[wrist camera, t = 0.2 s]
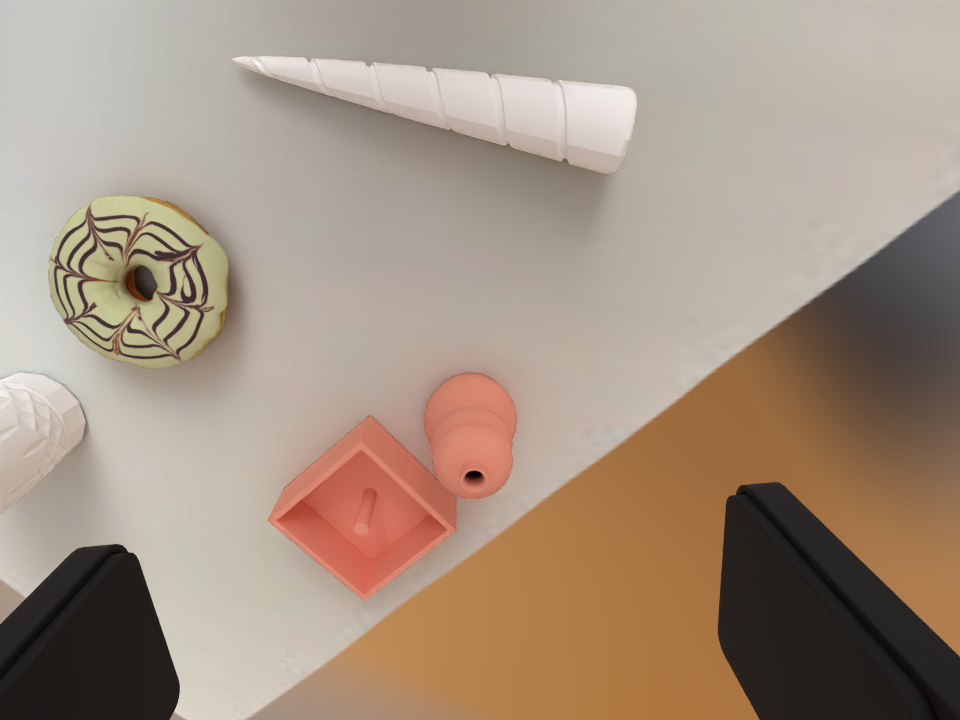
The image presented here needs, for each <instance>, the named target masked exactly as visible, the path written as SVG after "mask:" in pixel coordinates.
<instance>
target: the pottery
mask: <svg viewBox="0 0 960 720" xmlns="http://www.w3.org/2000/svg"><path fill="white" fill-rule="evenodd" d="M516 423H517V416H516V410H515V407H514V404H513V401H512V399H511V398H510V396H509V394H508V393H507V392H506V391H505V390H504V389H503V388H502V387H501V386H500V385H499V384H498V383H497V382H495V381H494V380H493V379H491V378H489V377H486V376H484V375H480V374H473V373H467V374H460V375H457V376H454V377H452V378H450V379H448V380H446V381H445V382H444V383H443V384H441V385H440V386H439V388H438V389H437V390H436V391H435V392H434V394H433V395H432V396H431V398H430V400H429V402H428V403H427V407H426V410H425V415H424V426H425V432H426V435H427V437H428V440H429V442H430V443H431V449H432V455H433V467H434V471H435V474H436V476H437V479H438V480H439V481H438V480H437V479H436V478H435V477H434V476H433V475H432V474H431V473H430V472H429V471H428V470H427V469H426V468H425V467H424V466H423V465H421V464H420V463H419V462H418V461H417V460H416V459H415V458H414V457H413V456H412V455H411V454H410V453H409V452H408V451H407V450H406V449H405V448H404V447H403V446H402V445H401V444H400V443H399V442H398V441H397V440H395V439H394V438H393V437H392V436H391V435H390V434H389V433H388V432H387V431H386V430H385V429H384V428H383V427H382V426H381V425H380V424H379V423H378V422H377V421H376V420H375V419H374V418H373V417H372V416H371V415H370V416H368V417H367V418H366V419H365V420H364V421H362V422H361V423H360V424H359V425H358V426H357V427H355V428H354V429H353V430H352V431H351V432H350V433H348V434H347V435H346V436H345V437H344V438H343V439H341V440H340V441H339V442H338V443H337V444H335V445H334V446H333V447H332V448H331V449H330V450H328V451H327V452H326V453H325V454H324V455H323V456H321V457H320V458H319V459H318V460H317V461H316V462H314V463H313V464H312V465H311V466H310V467H308V468H307V469H306V470H305V471H304V472H303V473H301V474H300V475H299V476H298V477H297V478H296V479H294V480H293V481H292V482H291V483H290V484H289V485H287V486H286V487H285V488H284V490H283V492H282V494H281V496H280V497H279V499H278V501H277V503H276V505H275V507H274V509H273V511H272V512H271V514H270V516H269V518H268V520H267V521H269V522H270V523H271V524H272V525H273V526H275V527H276V528H277V529H278V530H279V531H281V532H282V533H283V534H284V535H285V536H287V537H288V538H289V539H290V540H291V541H293V542H294V543H295V544H296V545H297V546H299V547H300V548H301V549H302V550H303V551H305V552H306V553H307V554H308V555H309V556H311V557H312V558H313V559H314V560H315V561H317V562H318V563H319V564H320V565H321V566H323V567H324V568H325V569H326V570H327V571H329V572H330V573H331V574H332V575H333V576H335V577H336V578H337V579H338V580H339V581H341V582H342V583H343V584H344V585H345V586H347V587H348V588H349V589H350V590H351V591H353V592H354V593H355V594H356V595H357V596H359V597H360V598H361V599H362V600H363V601H365V600H367V599H368V598H369V597H371V596H372V595H373V594H374V593H376V592H377V591H378V590H380V589H381V588H382V587H384V586H385V585H386V584H387V583H389V582H390V581H391V580H393V579H394V578H395V577H397V576H398V575H399V574H400V573H402V572H403V571H404V570H406V569H407V568H408V567H409V566H411V565H412V564H413V563H415V562H416V561H417V560H419V559H420V558H421V557H422V556H424V555H425V554H426V553H428V552H429V551H430V550H432V549H433V548H434V547H435V546H437V545H438V544H439V543H441V542H442V541H443V540H445V539H446V538H447V537H448V536H450V535H451V534H452V533H454V532H455V531H456V497H455V496H454V495H456V496H458V497H461V498H465V499H479V498H484V497H487V496H490V495H492V494H494V493H495V492H497V491H498V490H499V489H501V487H502V486H503V485H504V484H505V483H506V481H507V480H508V478H509V475H510V472H511V469H512V465H513V455H512V446H513V444H512V439H513V437H514V434H515V431H516Z"/></svg>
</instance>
